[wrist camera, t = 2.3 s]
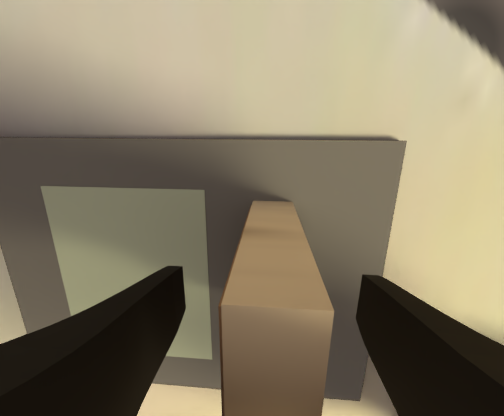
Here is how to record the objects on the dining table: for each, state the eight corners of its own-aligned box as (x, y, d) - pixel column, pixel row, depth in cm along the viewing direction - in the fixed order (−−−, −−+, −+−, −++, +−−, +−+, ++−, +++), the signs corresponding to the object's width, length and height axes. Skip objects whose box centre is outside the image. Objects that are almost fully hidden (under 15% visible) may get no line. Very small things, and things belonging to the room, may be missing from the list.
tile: (286, 303, 13) (308, 519, 6) (250, 300, 13) (223, 509, 6) (292, 201, 12) (334, 311, 4) (251, 200, 12) (215, 303, 4)
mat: (400, 140, 11) (407, 140, 11) (357, 392, 15) (360, 401, 15) (-21, 137, 13) (-34, 137, 12) (45, 367, 17) (38, 374, 16)
